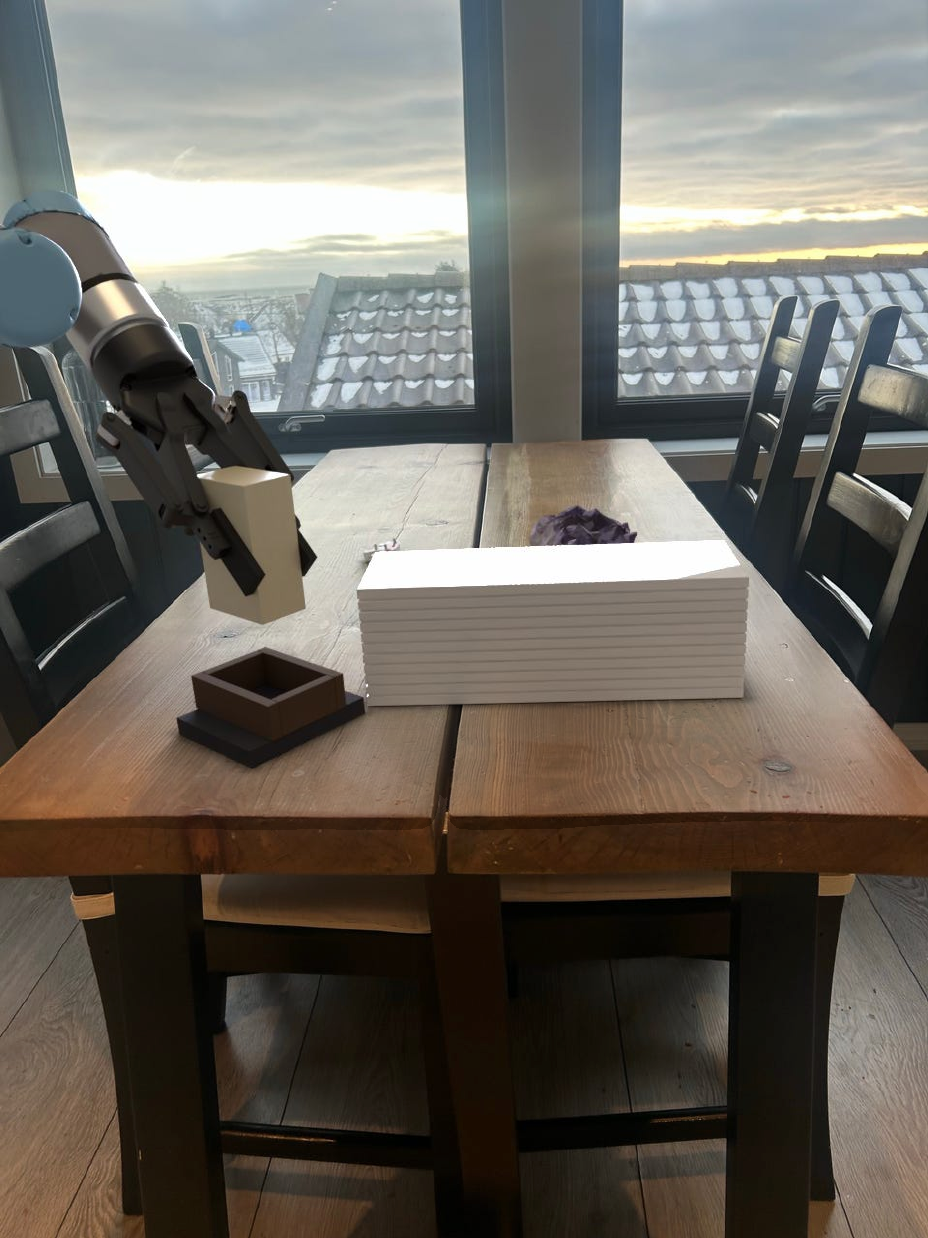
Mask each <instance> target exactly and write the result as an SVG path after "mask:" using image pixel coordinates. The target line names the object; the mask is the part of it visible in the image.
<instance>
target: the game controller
mask: <svg viewBox="0 0 928 1238" xmlns="http://www.w3.org/2000/svg"><path fill="white" fill-rule="evenodd" d="M373 547H374V548H370V549H367V550H364V551H362V556H363V558H364V561H365V562H370V561H371V559H372V557H373V555H374V553H375V552H398V551H402V546H401V544H400V541H399V540H397V539H396V538H395V537H393V538H392V540H391V541H385V542H381V543H379V544H378V545H377V543H376V544H374V545H373ZM410 551H413V549H411V550H410ZM419 551H423V550H421V549H419Z"/></svg>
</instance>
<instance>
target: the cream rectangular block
mask: <svg viewBox="0 0 928 1238" xmlns="http://www.w3.org/2000/svg"><path fill="white" fill-rule="evenodd" d="M197 476H198V479H199V481H200V484H201V486H202V489H203V491H204V494H205V496H206V499H207V501H208V504H209V510H208V511H209V513H210V514H211V512H212V510H213V509H217V508H221V509H222V510H223V512H224V513H225V515H226V516H227V518H228V519H229V521H230V522H231V524H232V525H233V527H234V528H235V530H236V531H237V533H238V534H239V536H240V537H241V539H242V540H243V542H244V543H245V545H246V546H247V548H248V549H249V551H250V552H251V554H252V555H253V556H254V558H255V559H256V561H257V562H258V564H259V565H260V567H261V568H262V570H263V571H264V573H265V574H266V575H265V576H264V578H263V580H262V581H261V583H260V584H259V586H258V587H257V589H256V590H255V592H254V594H252V595H249V596H246V597H245V595H244V594H243V592H242V591H241V589H240V588H239V586H238V585H237V583H236V581H235V580H234V578H233V577H232V575H231V574H230V572H229V571H228V569H227V568H226V566H225V565H224V563H223V562H222V560H221V559H218V560H214V559H213V558H212V557H210V556H209V554H208V553H207V551H206V549H205V548H204V547H203V545H202V544H201V542H200V541H199V544H200V545H199V546H200V551H201V557H202V564H203V571H204V576H205V577H204V579H205V584H206V590H207V591H206V592H207V597H208V602H209V603H208V605H209V609H211V610H214V611H218V612H221V613H223V614H227V615H230V616H234V617H237V618H238V619H239V618H240V619H243V620H246V621H249V622H252V623H256V624H259V625H261V626H264V625H267V624H269V623H272V622H274V621H277V620H280V619H283V618H285V617H287V616H290V615H292V614H293V615H294V614H295V613H298V612H301V611H304V610H306V609H307V606H306V598H305V589H304V582H303V577H302V571H301V563H300V554H299V546H298V537H297V529H296V520H295V515H296V513H295V504H294V496H293V488H292V484H291V478H290V475H289V474H283V473H277V472H271V471H265V470H259V469H253V468H246V467H240V466H232V467H228V468H224V469H221V468H220V469H219V468H218V469H215V470H211V471H207V472H203V473H198V474H197Z"/></svg>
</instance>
